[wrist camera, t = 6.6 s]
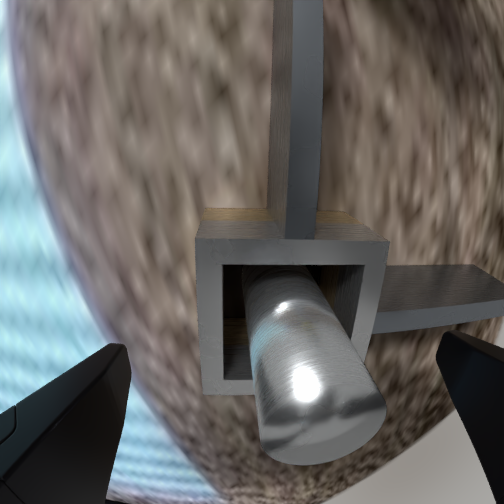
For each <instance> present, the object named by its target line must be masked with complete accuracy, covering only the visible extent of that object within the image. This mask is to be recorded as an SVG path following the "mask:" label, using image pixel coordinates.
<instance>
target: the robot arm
mask: <svg viewBox="0 0 504 504" xmlns="http://www.w3.org/2000/svg"><path fill="white" fill-rule="evenodd" d="M436 362H437V364H438V367H439V369H440V372H441V374H442V377H443V379H444V382H445V384H446V387H447V389H448V392H449V394H450V397H451V399H452V401H453V403H454V406H455V408H456V410H457V412H458V414H459V416H460V418H461V420H462V422H463V424H464V426H465V429H466V431H467V433H468V435H469V437H470V439H471V442H472V444H473V446H474V448H475V451H476V453H477V455H478V458H479V460H480V462H481V465H482V467H483V470H484V472H485V474H486V477H487V480H488V482H489V485H490V487H491V490H492V493H493V495H494V498H495V501H496V504H504V348H501V347H499V346H496V345H493V344H491V343H488V342H486V341H483V340H481V339H478V338H475V337H473V336H470V335H468V334H465V333H463V332H460V331H457V330H452V331H447V332H445V333H444V334H443V336H442V339H441V342H440V344H439V347H438V350H437V353H436ZM130 382H131V366H130V362H129V357H128V352H127V348H126V346H125V345H124V344H116V343H110V344H108V345H106V346H105V347H103V348H102V349H100V350H99V351H97V352H95V353H94V354H92V355H91V356H89V357H88V358H86V359H85V360H83V361H82V362H80V363H78V364H77V365H75V366H74V367H72V368H71V369H69V370H68V371H66V372H65V373H63V374H62V375H60V376H58V377H57V378H55V379H54V380H52V381H51V382H49V383H48V384H46V385H45V386H43V387H42V388H40V389H38V390H37V391H35V392H34V393H32V394H31V395H29V396H28V397H26V398H25V399H23V400H21V401H20V402H18V403H17V404H16V406H15V405H14V406H12V407H11V408H9V409H8V410H6V411H4V412H3V413H1V414H0V504H122V503H117V502H112V501H107V500H105V499H106V494H107V490H108V485H109V481H110V477H111V473H112V469H113V465H114V461H115V457H116V453H117V449H118V445H119V441H120V438H121V434H122V430H123V426H124V420H125V414H126V407H127V400H128V394H129V388H130Z"/></svg>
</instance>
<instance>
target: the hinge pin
mask: <svg viewBox="0 0 504 504" xmlns="http://www.w3.org/2000/svg"><path fill="white" fill-rule="evenodd" d="M241 277H242V287H243V296H244V306H245V315H246V324H247V333H248V341H249V350H250V359H251V368H252V376H253V385H254V393H255V402H256V410H257V418H258V426H259V434H260V442H261V446H262V448H263V450H264V451H265V452H266V453H267V454H268V455H269V456H270V457H271V458H273V459H275V460H277V461H280V462H282V463H286V464H292V465H315V464H321V463H326V462H330V461H333V460H336V459H339V458H341V457H344V456H346V455H348V454H350V453H352V452H354V451H355V450H357V449H359V448H360V447H362V446H363V445H364V444H366V443H367V442H368V441H369V440H370V439H371V438H372V437H373V436H374V435H375V434H376V433H377V432H378V430H379V429H380V427H381V426H382V424H383V422H384V420H385V417H386V412H387V407H386V402H385V400H384V398H383V396H382V395H381V393H380V391H379V389H378V387H377V386H376V384H375V382H374V380H373V379H372V377H371V375H370V373H369V372H368V370H367V368H366V366H365V365H364V363H363V361H362V359H361V358H360V356H359V354H358V352H357V351H356V349H355V347H354V345H353V344H352V342H351V340H350V339H349V337H348V335H347V334H346V332H345V330H344V328H343V327H342V325H341V323H340V322H339V320H338V318H337V317H336V315H335V313H334V312H333V310H332V308H331V307H330V305H329V303H328V302H327V300H326V298H325V297H324V295H323V293H322V292H321V290H320V288H319V287H318V285H317V284H316V282H315V280H314V279H313V277H312V275H311V274H310V272H309V270H308V269H307V267H306V266H305V265H247V264H244V265H243V268H242V274H241Z"/></svg>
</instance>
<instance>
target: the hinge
mask: <svg viewBox="0 0 504 504" xmlns="http://www.w3.org/2000/svg"><path fill="white" fill-rule="evenodd" d="M322 105H323V0H274V12H273V50H272V83H271V113H270V140H269V166H268V190H267V209H235V208H205V211H204V214H203V217H202V220H201V223H200V225H199V228H198V231H197V234H196V237H195V260H196V289H197V312H198V331H199V347H200V362H201V376H202V388H203V395H255V393H254V385H253V376H252V368H251V359H250V350H249V341H248V333H247V324H246V318H224V264H247V265H322V269H321V278H320V286H319V288H320V290H321V292H322V293H323V295H324V297H325V298H326V300H327V302H328V303H329V305H330V307H331V308H332V310H333V312H334V313H335V315H336V317H337V318H338V320H339V322H340V323H341V325H342V327H343V328H344V330H345V332H346V334H347V335H348V337H349V339H350V340H351V342H352V344H353V345H354V347H355V349H356V351H357V352H358V354H359V356H360V358H361V359H362V361H363V363H364V360H365V357H366V353H367V349H368V345H369V341H370V338H371V334H378V333H388V332H398V331H407V330H415V329H423V328H431V327H438V326H445V325H452V324H459V323H465V322H471V321H477V320H483V319H488V318H494V317H499V316H504V283H502V282H500V281H499V280H497V279H496V278H494V277H493V276H491V275H490V274H488V273H486V272H485V271H483V270H482V269H480V268H478V267H477V266H475V265H409V266H386V262H387V256H388V250H389V244H390V241H388V240H387V239H385V238H384V237H382V236H381V235H379V234H378V233H376V232H375V231H373V230H372V229H370V228H369V227H367V226H366V225H364V224H362V223H361V222H359V221H358V220H356V219H355V218H353V217H351V216H350V215H348V214H347V213H345V212H337V211H317V200H318V186H319V171H320V153H321V132H322Z"/></svg>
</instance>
